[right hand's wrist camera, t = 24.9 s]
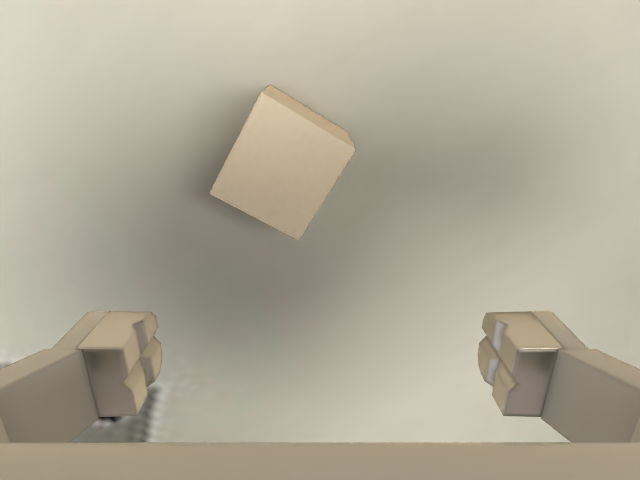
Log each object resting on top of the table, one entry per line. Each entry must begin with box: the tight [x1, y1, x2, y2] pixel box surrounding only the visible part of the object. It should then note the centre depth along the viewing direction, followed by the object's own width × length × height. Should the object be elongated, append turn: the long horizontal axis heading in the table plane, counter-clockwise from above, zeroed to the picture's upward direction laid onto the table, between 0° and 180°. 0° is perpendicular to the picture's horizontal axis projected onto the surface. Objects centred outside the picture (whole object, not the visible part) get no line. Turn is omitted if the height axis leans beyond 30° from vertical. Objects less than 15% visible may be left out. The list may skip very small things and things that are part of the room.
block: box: [210, 85, 355, 240], centre depth 21 cm, size 5×5×4 cm
